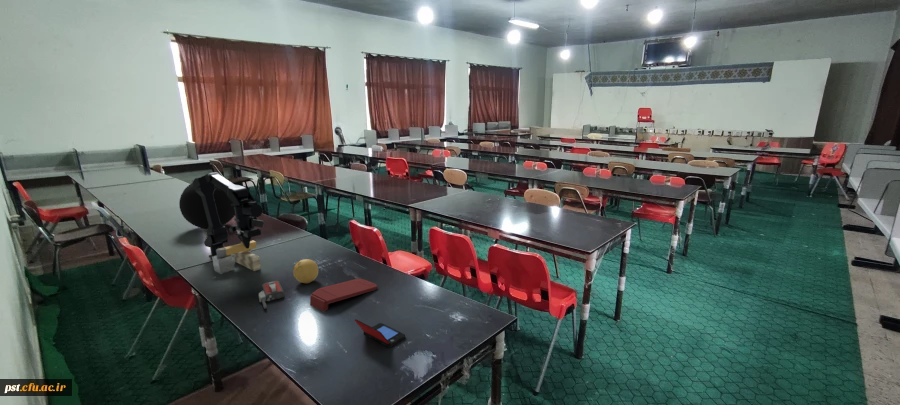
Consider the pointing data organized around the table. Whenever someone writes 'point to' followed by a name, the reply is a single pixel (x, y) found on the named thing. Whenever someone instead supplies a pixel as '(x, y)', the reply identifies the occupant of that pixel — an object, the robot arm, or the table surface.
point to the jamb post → (223, 264)
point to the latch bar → (234, 249)
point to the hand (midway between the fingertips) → (247, 248)
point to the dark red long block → (340, 292)
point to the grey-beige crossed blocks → (248, 260)
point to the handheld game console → (382, 333)
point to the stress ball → (305, 271)
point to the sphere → (195, 209)
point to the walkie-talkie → (270, 292)
